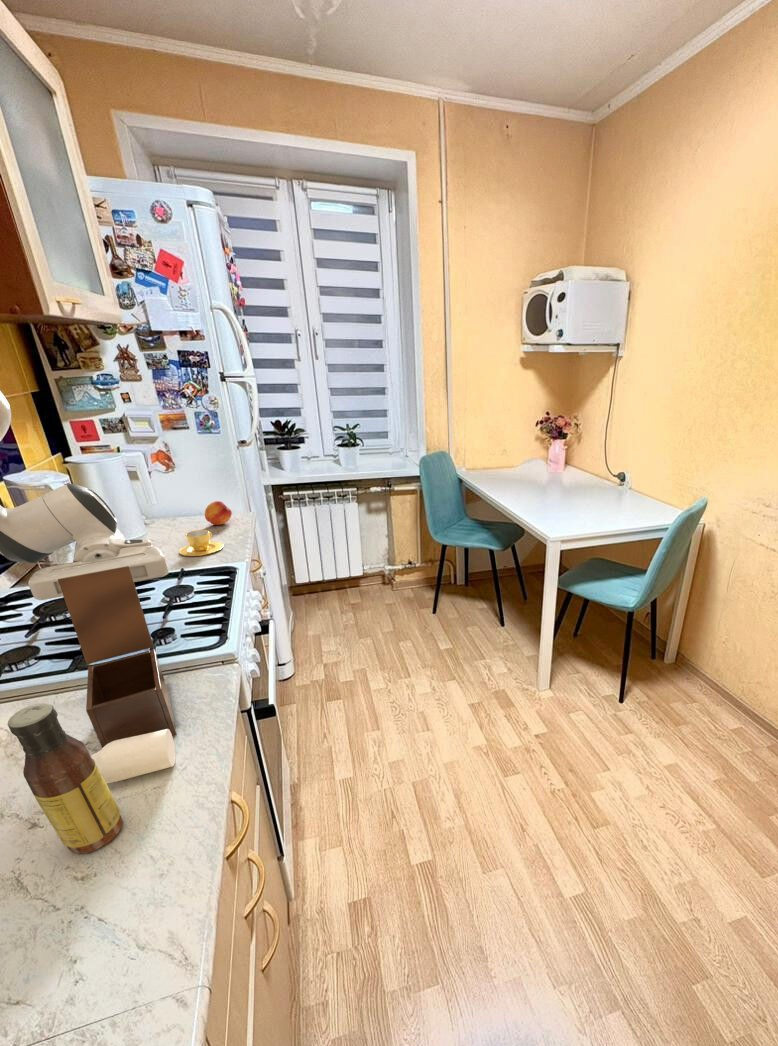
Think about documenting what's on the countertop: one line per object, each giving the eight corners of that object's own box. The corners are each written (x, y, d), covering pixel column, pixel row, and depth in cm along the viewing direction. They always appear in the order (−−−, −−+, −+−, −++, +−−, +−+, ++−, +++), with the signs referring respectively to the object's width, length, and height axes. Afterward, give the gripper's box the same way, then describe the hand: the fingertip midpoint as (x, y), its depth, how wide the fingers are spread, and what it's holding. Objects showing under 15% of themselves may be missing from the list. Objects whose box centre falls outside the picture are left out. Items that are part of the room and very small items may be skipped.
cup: (204, 559, 150) (199, 541, 147) (170, 555, 153) (165, 538, 150) (232, 545, 160) (228, 528, 158) (199, 541, 163) (195, 525, 161)
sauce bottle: (109, 807, 69) (55, 687, 61) (135, 827, 66) (82, 704, 58) (53, 844, 64) (-14, 718, 56) (78, 868, 61) (11, 738, 53)
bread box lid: (128, 566, 84) (128, 565, 85) (57, 579, 80) (58, 578, 80) (153, 647, 88) (153, 646, 88) (86, 664, 83) (87, 663, 84)
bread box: (176, 735, 82) (161, 688, 78) (106, 759, 77) (85, 710, 73) (168, 692, 92) (154, 649, 88) (106, 711, 88) (88, 666, 84)
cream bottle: (84, 772, 75) (70, 742, 73) (177, 748, 79) (167, 719, 77) (74, 802, 70) (59, 771, 68) (173, 774, 75) (163, 744, 72)
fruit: (229, 527, 176) (224, 504, 172) (204, 528, 175) (198, 505, 171) (235, 520, 183) (230, 498, 179) (211, 521, 182) (206, 499, 178)
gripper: (26, 558, 91) (17, 586, 81) (158, 537, 101) (165, 559, 91) (39, 591, 94) (32, 621, 84) (167, 566, 104) (174, 591, 94)
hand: (102, 588), depth 87 cm, fingers closed
